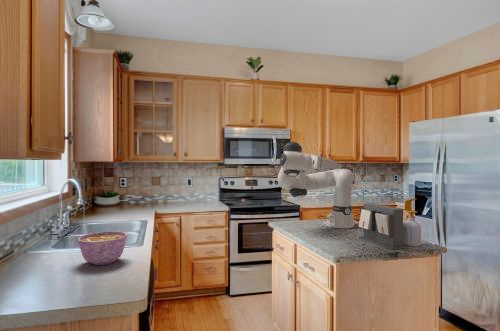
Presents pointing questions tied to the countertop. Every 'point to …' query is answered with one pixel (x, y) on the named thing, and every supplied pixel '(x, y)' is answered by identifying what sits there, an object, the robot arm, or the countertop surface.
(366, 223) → the block
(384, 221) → the block
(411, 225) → the soap bottle
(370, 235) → the power panel
